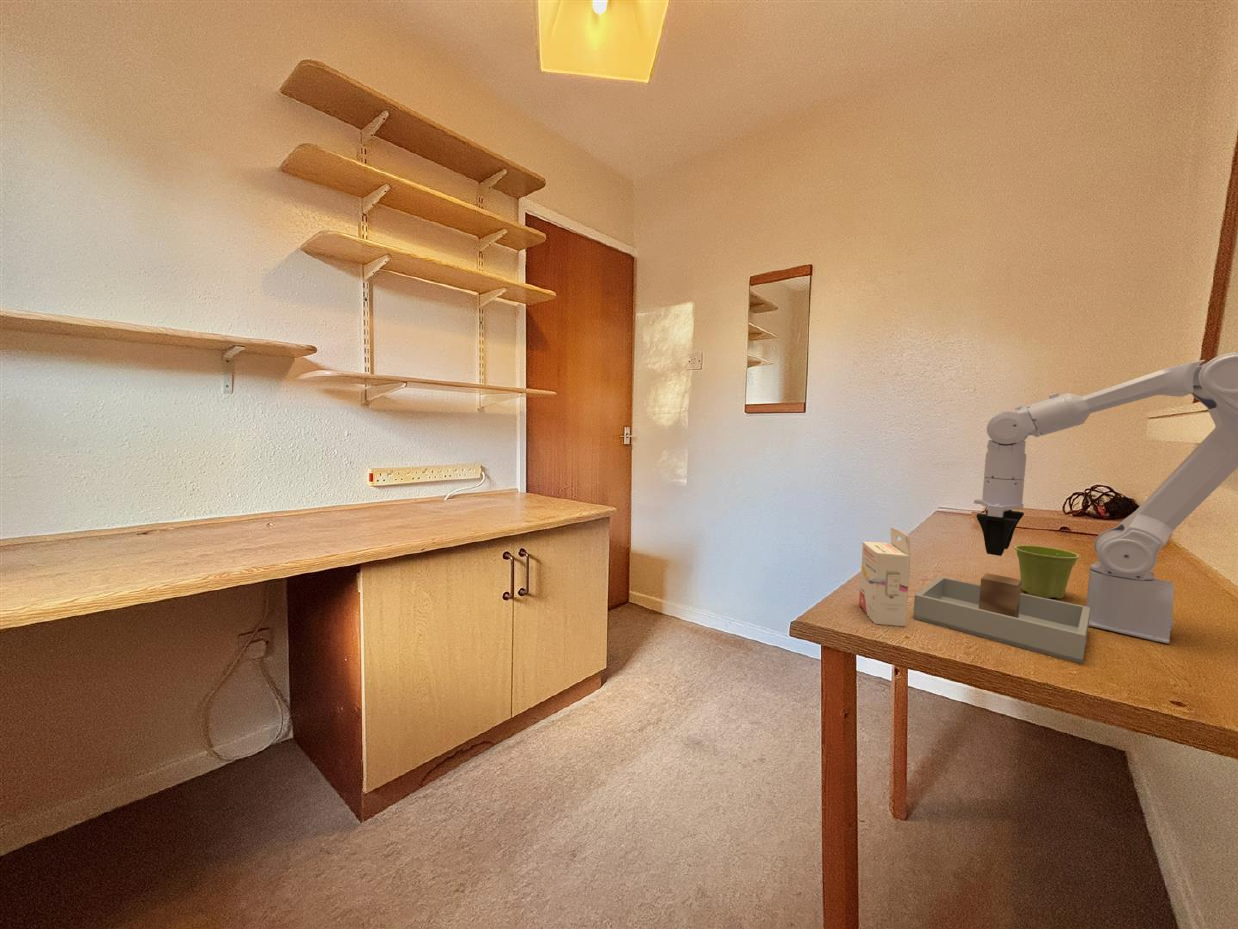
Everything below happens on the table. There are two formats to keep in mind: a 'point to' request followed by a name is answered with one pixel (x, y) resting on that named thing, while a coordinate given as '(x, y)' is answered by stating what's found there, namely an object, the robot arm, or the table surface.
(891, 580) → the ink cartridge box
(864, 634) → the table surface
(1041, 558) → the plant pot
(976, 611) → the tray bin
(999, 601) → the walnut block
